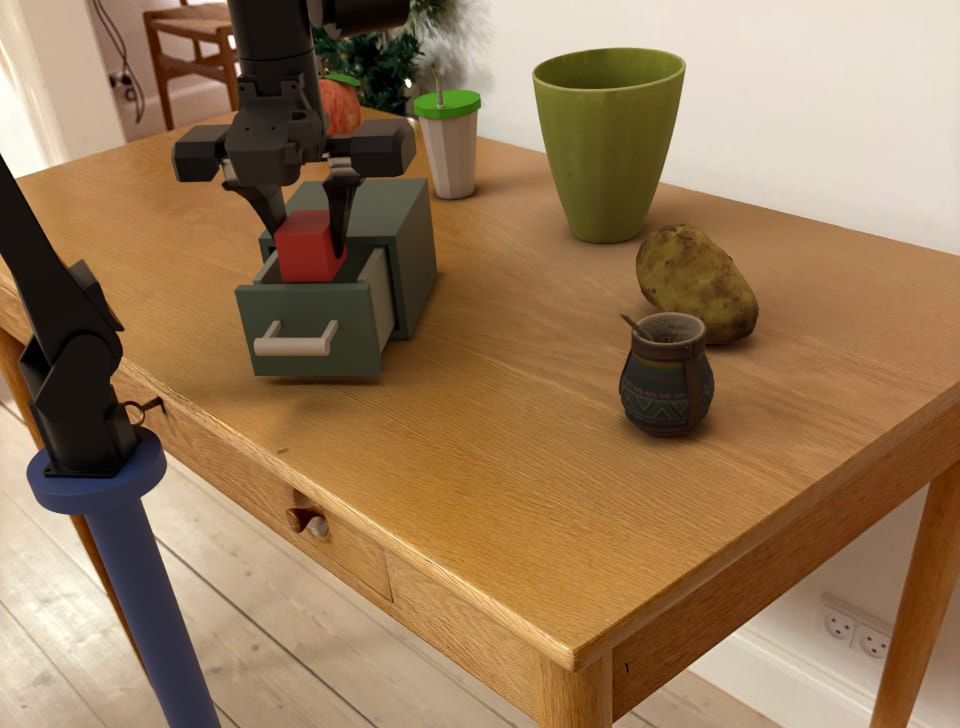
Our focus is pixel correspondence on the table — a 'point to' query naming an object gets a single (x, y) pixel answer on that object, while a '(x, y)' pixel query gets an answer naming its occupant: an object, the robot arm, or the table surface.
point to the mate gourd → (667, 374)
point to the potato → (696, 282)
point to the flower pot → (608, 134)
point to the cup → (450, 137)
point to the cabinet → (384, 236)
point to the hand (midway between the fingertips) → (313, 257)
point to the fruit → (340, 103)
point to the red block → (307, 247)
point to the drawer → (321, 318)
